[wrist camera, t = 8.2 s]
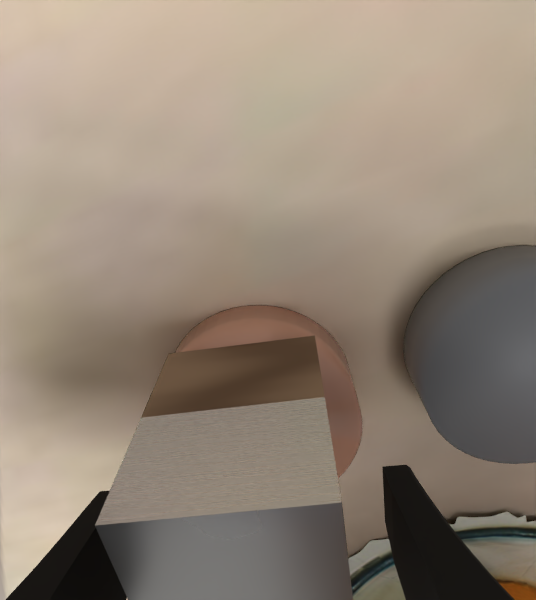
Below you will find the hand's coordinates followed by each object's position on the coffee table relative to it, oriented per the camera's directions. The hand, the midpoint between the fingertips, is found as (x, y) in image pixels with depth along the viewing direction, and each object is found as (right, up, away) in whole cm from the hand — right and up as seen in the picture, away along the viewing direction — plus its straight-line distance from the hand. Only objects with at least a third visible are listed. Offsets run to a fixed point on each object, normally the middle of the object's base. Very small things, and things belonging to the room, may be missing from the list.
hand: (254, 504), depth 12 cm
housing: (0, +1, +3) cm, 3 cm away
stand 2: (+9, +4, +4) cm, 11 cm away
